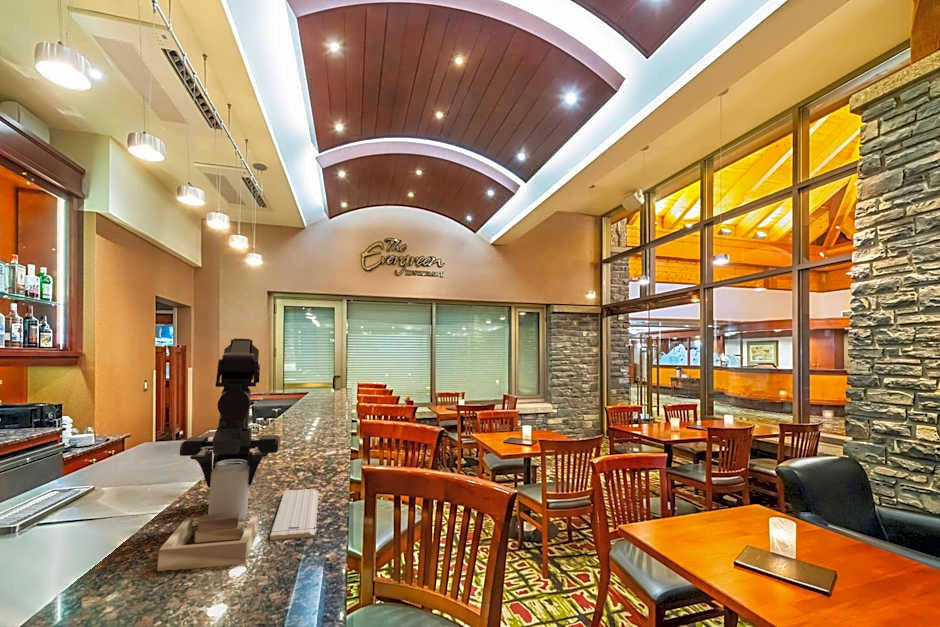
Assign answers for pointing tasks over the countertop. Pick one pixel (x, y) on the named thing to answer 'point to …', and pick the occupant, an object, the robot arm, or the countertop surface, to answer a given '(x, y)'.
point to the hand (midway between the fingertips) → (229, 485)
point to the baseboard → (296, 515)
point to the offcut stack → (219, 527)
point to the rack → (205, 549)
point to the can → (229, 487)
